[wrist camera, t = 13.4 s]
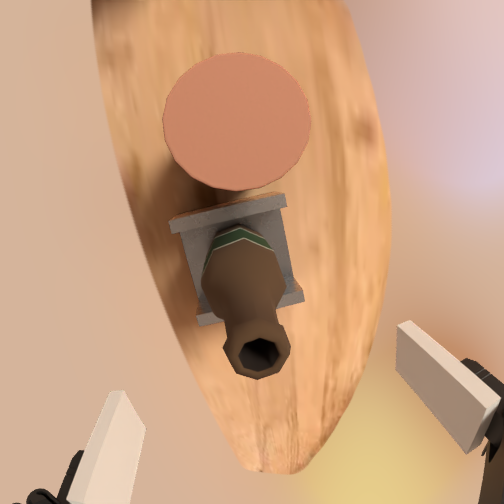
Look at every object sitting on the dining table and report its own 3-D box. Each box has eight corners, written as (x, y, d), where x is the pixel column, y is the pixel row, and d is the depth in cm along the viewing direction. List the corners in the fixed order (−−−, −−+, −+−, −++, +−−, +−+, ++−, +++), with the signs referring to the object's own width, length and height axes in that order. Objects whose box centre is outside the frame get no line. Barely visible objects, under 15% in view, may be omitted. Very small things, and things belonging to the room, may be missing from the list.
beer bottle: (266, 281, 40) (319, 404, 16) (206, 281, 39) (190, 409, 16) (268, 223, 38) (339, 287, 15) (206, 221, 37) (180, 287, 14)
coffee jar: (239, 204, 38) (253, 221, 21) (173, 157, 36) (132, 136, 19) (288, 139, 37) (338, 109, 20) (222, 93, 35) (224, 28, 17)
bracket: (177, 214, 38) (168, 221, 32) (274, 191, 38) (284, 193, 32) (202, 305, 41) (199, 326, 35) (292, 283, 42) (304, 301, 35)
